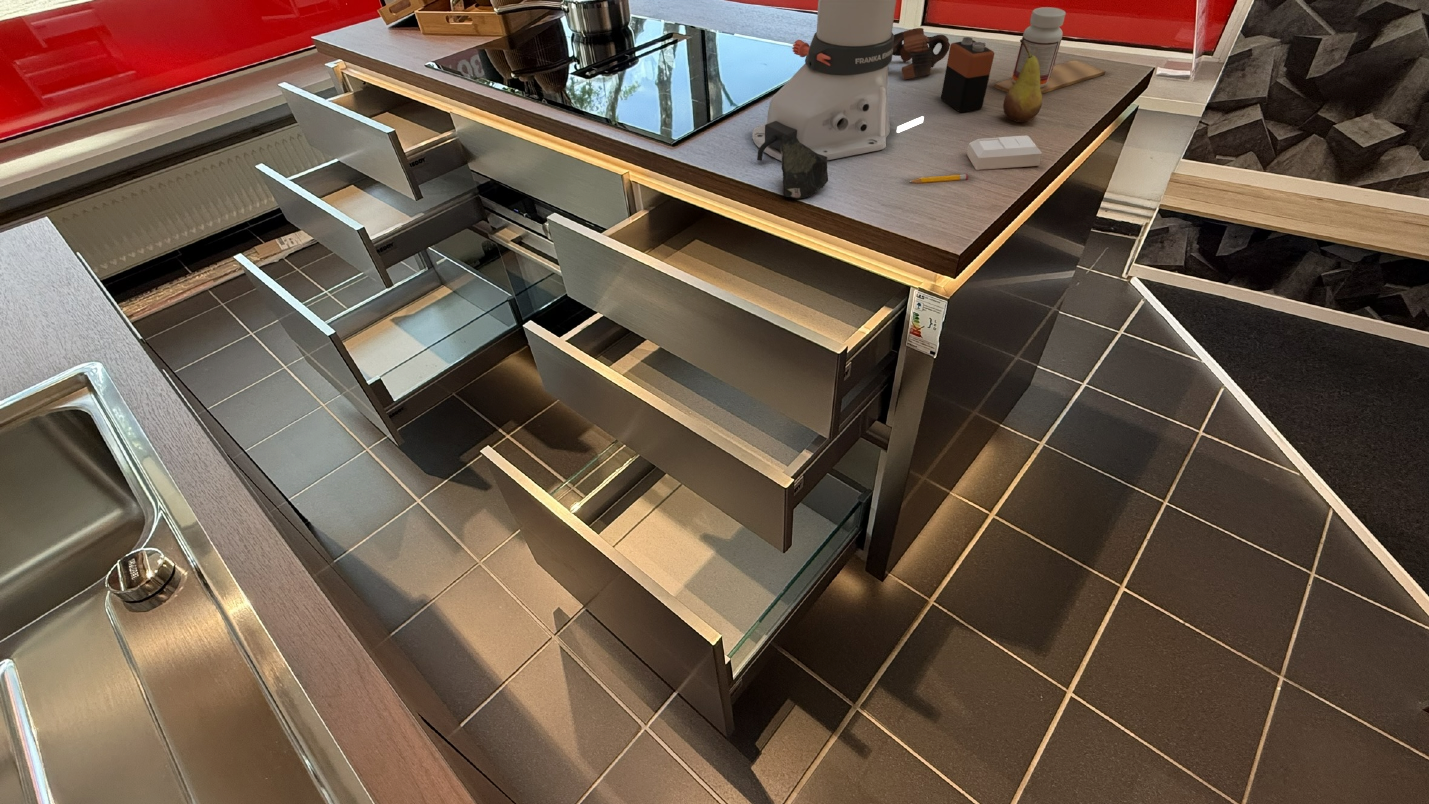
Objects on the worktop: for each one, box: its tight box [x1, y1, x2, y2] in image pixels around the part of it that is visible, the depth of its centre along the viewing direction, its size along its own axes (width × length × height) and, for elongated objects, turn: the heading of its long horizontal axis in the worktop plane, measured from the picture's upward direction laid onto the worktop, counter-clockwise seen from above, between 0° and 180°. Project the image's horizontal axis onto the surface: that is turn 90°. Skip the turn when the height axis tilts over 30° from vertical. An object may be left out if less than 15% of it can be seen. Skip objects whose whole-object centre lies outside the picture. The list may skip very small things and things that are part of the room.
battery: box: [940, 36, 995, 113], centre depth 113 cm, size 4×7×10 cm, turn 16°
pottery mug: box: [892, 27, 951, 81], centre depth 127 cm, size 12×10×8 cm
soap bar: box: [966, 134, 1043, 171], centre depth 100 cm, size 5×9×3 cm, turn 90°
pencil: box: [908, 173, 969, 184], centre depth 97 cm, size 1×9×1 cm
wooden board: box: [993, 59, 1107, 95], centre depth 122 cm, size 20×7×1 cm, turn 119°
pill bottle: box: [1011, 6, 1067, 88], centre depth 116 cm, size 6×6×11 cm
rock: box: [781, 135, 829, 200], centre depth 97 cm, size 9×7×5 cm
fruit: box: [1003, 38, 1043, 123], centre depth 106 cm, size 6×6×12 cm
